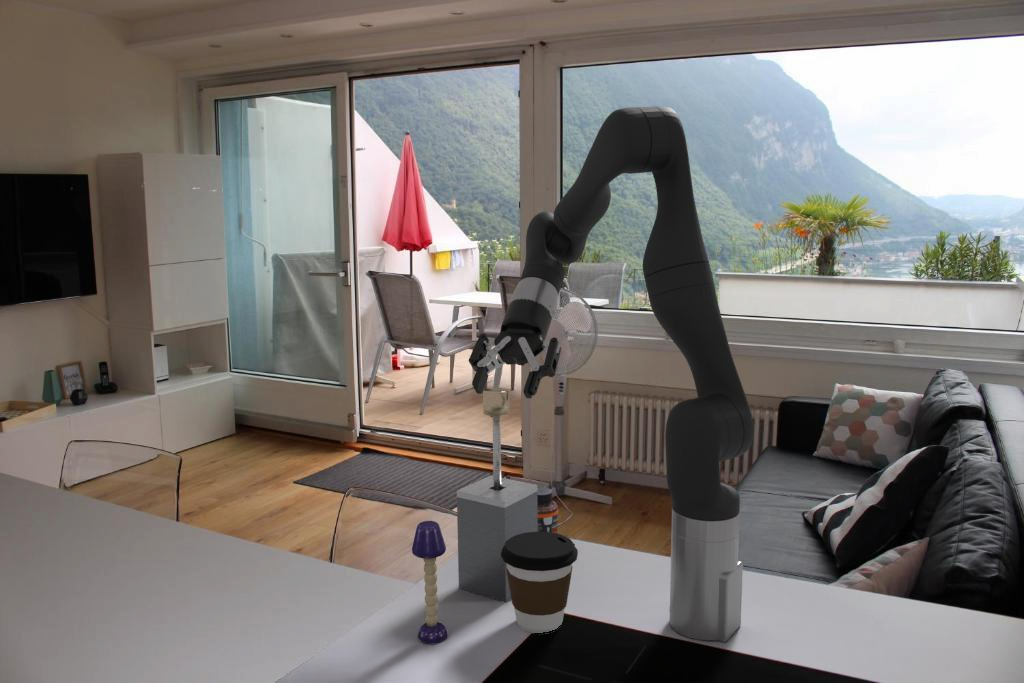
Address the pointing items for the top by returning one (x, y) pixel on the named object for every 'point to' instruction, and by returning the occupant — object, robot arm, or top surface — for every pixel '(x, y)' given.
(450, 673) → the top surface
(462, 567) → the block with hole
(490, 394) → the tan rounded stemmed piece
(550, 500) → the supplement bottle
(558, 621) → the coffee cup
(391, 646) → the top surface
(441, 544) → the toy lamp
